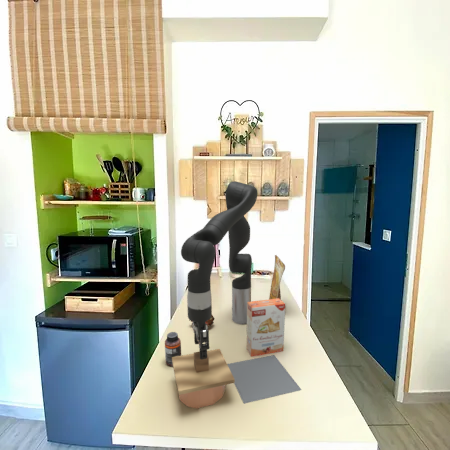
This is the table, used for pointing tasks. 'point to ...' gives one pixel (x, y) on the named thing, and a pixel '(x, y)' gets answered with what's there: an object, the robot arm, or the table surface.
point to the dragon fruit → (209, 321)
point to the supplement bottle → (172, 347)
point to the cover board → (201, 371)
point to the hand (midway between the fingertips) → (200, 350)
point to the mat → (261, 378)
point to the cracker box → (265, 326)
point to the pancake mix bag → (277, 279)
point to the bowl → (202, 397)
